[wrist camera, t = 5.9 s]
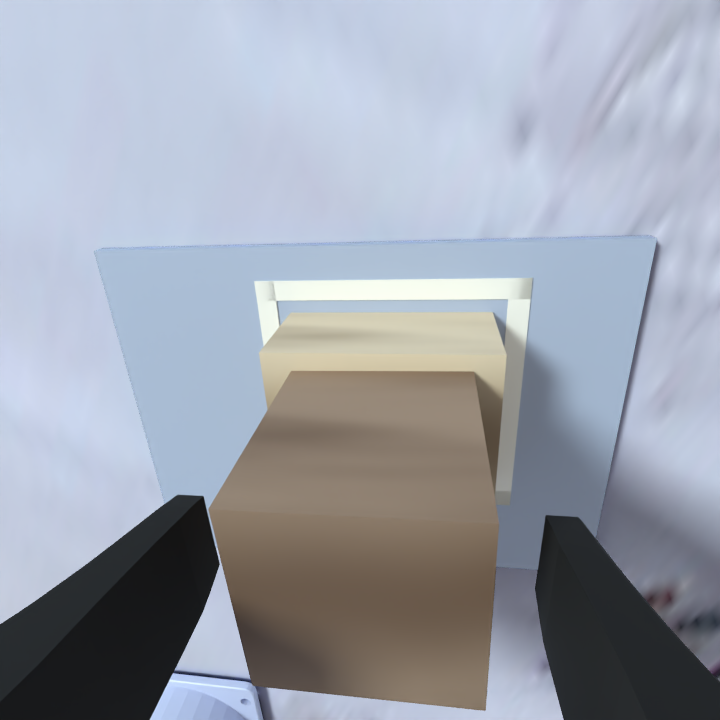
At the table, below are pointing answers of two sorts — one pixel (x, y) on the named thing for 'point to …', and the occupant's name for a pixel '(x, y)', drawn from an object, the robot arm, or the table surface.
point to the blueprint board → (391, 294)
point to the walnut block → (365, 538)
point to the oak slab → (394, 352)
